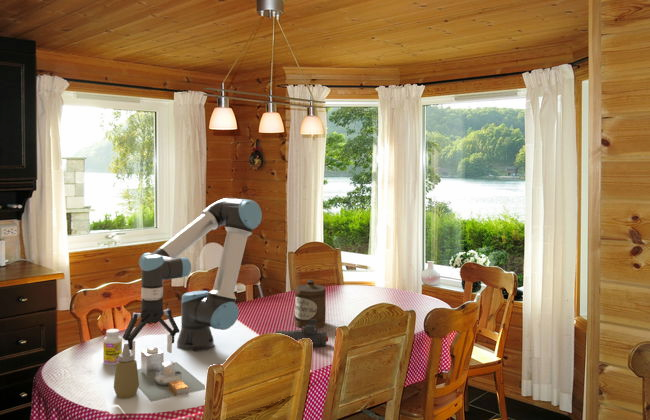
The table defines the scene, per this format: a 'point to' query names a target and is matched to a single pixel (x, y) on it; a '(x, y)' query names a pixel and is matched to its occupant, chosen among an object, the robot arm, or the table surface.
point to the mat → (161, 392)
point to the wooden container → (310, 304)
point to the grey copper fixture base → (171, 379)
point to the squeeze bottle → (126, 375)
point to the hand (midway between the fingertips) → (151, 355)
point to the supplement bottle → (112, 346)
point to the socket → (151, 361)
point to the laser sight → (308, 334)
